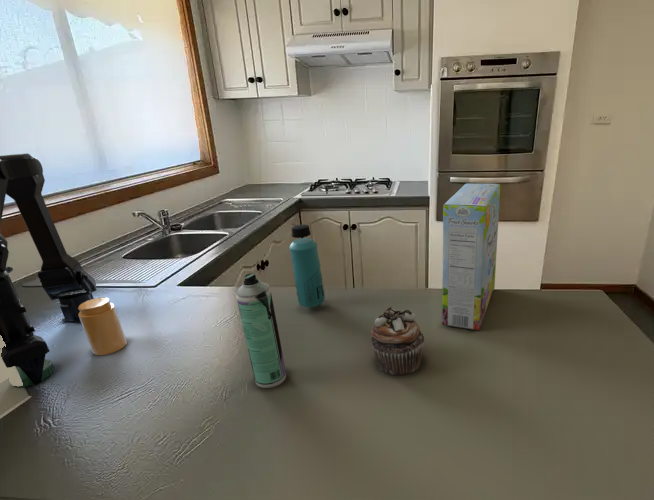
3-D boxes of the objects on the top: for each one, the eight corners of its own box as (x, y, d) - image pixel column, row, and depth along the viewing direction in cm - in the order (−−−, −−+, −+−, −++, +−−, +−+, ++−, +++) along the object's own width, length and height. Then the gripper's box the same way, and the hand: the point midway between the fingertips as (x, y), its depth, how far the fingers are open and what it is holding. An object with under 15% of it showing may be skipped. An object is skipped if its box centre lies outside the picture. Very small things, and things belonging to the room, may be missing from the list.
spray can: (292, 371, 77) (273, 269, 69) (276, 390, 72) (254, 282, 64) (266, 367, 78) (245, 267, 71) (249, 385, 74) (224, 280, 66)
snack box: (483, 332, 84) (487, 205, 74) (440, 327, 87) (438, 204, 77) (497, 288, 102) (501, 181, 92) (461, 285, 106) (462, 181, 96)
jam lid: (2, 390, 78) (-2, 382, 77) (24, 368, 84) (21, 361, 84) (42, 384, 79) (38, 377, 78) (61, 363, 85) (58, 356, 85)
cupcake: (364, 373, 74) (359, 323, 70) (382, 345, 83) (379, 299, 79) (417, 382, 71) (415, 330, 67) (430, 351, 79) (429, 303, 75)
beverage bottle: (321, 313, 97) (309, 229, 89) (294, 312, 99) (280, 230, 91) (329, 301, 103) (319, 221, 95) (304, 300, 104) (291, 222, 97)
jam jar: (107, 339, 94) (92, 296, 90) (133, 339, 93) (118, 296, 89) (85, 355, 88) (67, 310, 84) (112, 355, 87) (96, 310, 83)
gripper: (-66, 308, 76) (-28, 380, 82) (-56, 339, 64) (-12, 420, 70) (10, 287, 84) (40, 354, 90) (32, 310, 72) (65, 386, 78)
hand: (33, 376), depth 82 cm, fingers closed on jam lid, 7 cm apart
